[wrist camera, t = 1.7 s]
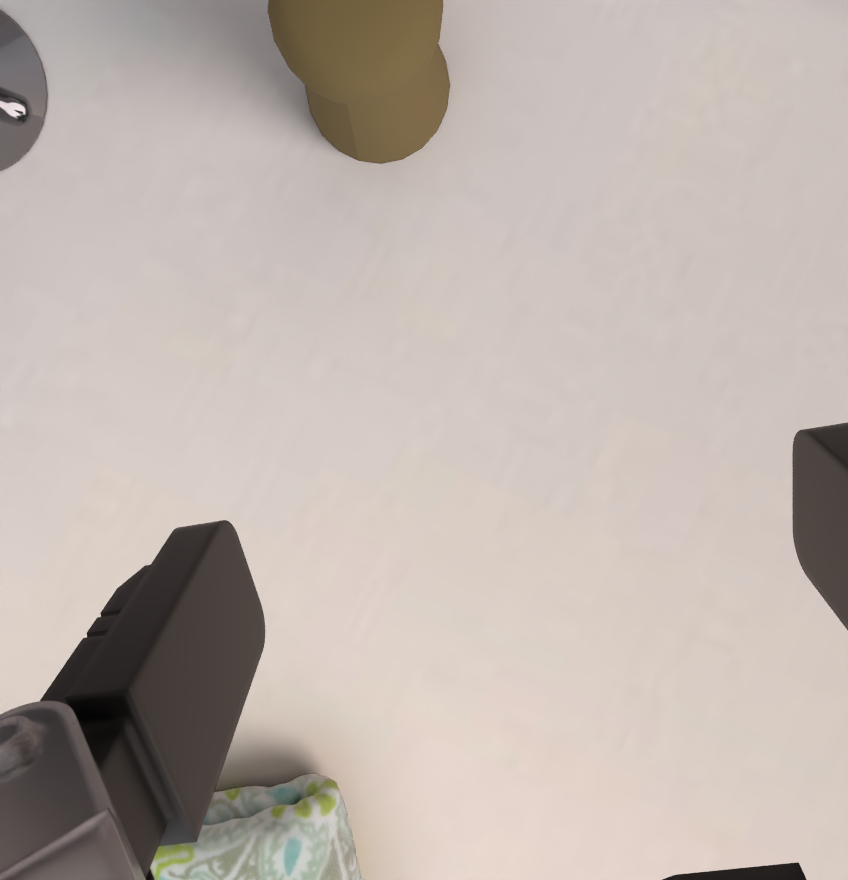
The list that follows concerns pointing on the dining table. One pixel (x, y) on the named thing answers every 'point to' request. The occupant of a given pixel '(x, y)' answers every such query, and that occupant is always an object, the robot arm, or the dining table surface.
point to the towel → (268, 836)
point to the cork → (367, 71)
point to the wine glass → (19, 92)
